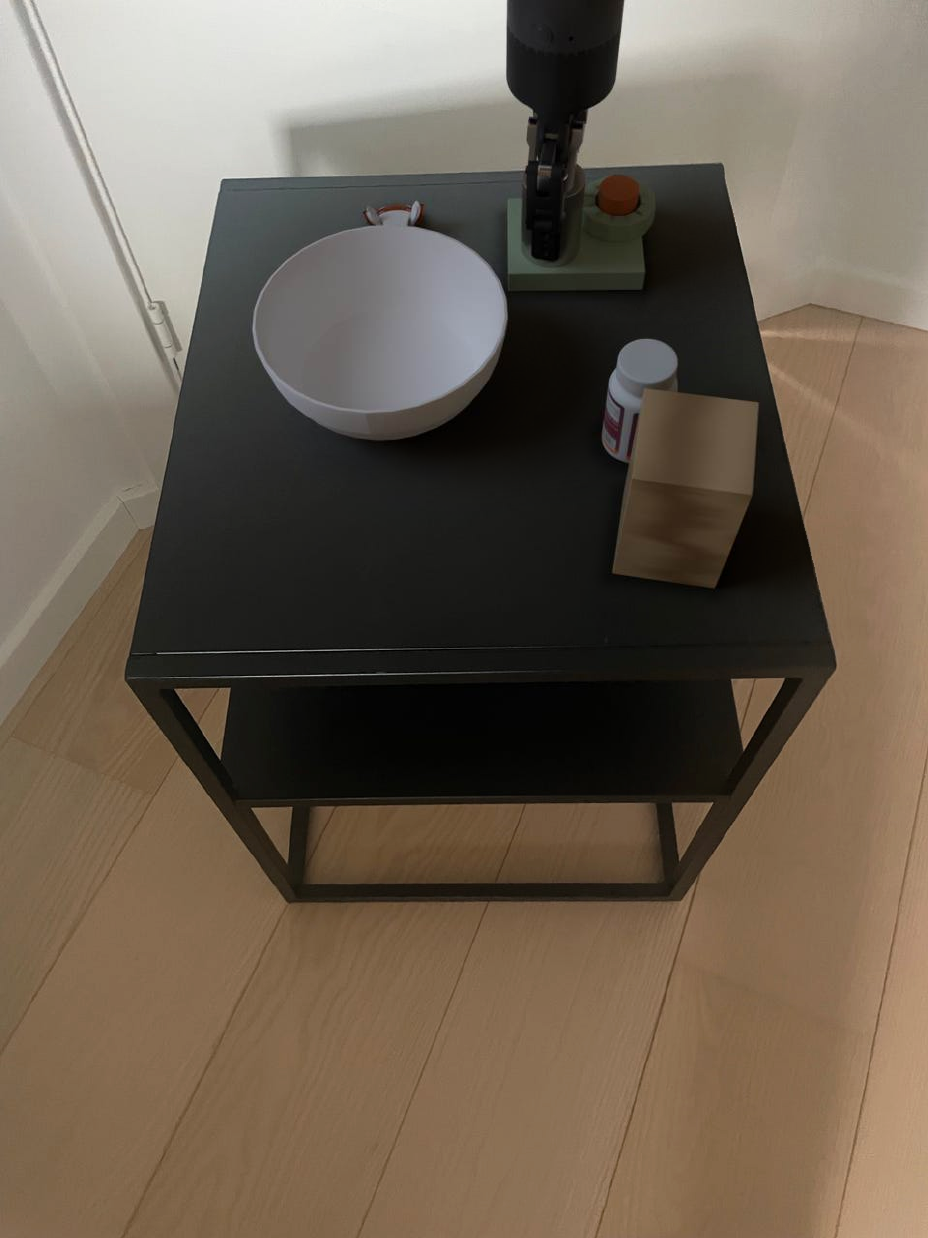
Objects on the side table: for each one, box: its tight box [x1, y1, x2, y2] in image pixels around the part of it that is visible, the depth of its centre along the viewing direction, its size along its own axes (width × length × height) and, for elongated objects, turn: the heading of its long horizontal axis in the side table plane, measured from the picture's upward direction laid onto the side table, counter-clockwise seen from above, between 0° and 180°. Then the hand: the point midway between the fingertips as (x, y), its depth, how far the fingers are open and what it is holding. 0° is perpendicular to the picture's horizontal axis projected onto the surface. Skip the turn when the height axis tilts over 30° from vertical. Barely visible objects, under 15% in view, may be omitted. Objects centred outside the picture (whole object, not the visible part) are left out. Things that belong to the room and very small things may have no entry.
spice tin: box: [521, 159, 587, 267], centre depth 75 cm, size 5×5×6 cm
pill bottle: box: [601, 338, 679, 464], centre depth 67 cm, size 5×5×8 cm
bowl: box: [252, 225, 509, 441], centre depth 71 cm, size 18×18×7 cm
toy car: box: [362, 200, 425, 227], centre depth 80 cm, size 5×8×3 cm, turn 2°
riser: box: [612, 388, 760, 589], centre depth 62 cm, size 7×7×11 cm
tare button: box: [598, 174, 639, 216], centre depth 78 cm, size 3×3×2 cm
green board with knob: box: [506, 175, 657, 292], centre depth 79 cm, size 12×10×4 cm
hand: (551, 227), depth 77 cm, fingers open, 6 cm apart
